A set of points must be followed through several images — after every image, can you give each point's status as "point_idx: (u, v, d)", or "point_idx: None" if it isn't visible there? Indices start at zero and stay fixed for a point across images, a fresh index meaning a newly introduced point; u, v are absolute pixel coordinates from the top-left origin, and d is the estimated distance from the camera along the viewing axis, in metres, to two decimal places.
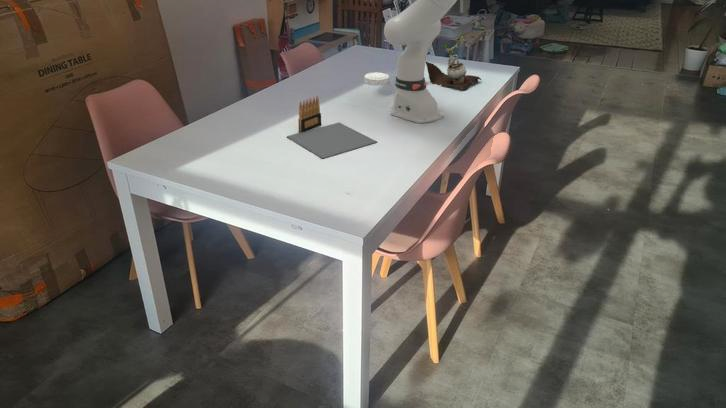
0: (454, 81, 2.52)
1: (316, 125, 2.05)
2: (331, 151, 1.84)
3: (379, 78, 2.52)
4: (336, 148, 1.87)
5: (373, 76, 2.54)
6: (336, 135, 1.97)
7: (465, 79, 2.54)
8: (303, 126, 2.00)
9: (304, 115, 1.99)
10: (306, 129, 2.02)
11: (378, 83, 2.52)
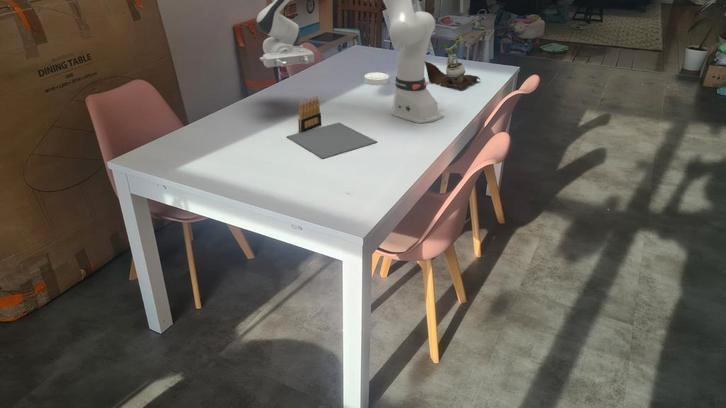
0: (453, 81, 2.52)
1: (316, 125, 2.05)
2: (331, 151, 1.84)
3: (379, 78, 2.52)
4: (336, 148, 1.87)
5: (373, 76, 2.54)
6: (336, 135, 1.97)
7: (464, 79, 2.55)
8: (303, 126, 2.00)
9: (304, 115, 1.99)
10: (306, 129, 2.02)
11: (378, 83, 2.52)
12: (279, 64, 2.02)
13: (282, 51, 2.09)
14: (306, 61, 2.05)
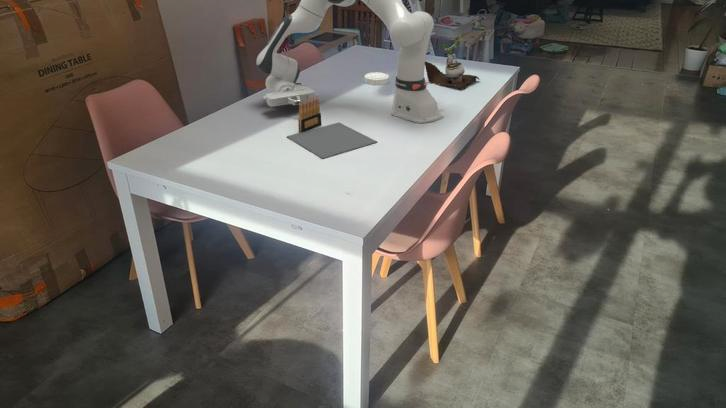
0: (452, 80, 2.53)
1: (316, 125, 2.05)
2: (331, 151, 1.84)
3: (379, 78, 2.52)
4: (336, 148, 1.87)
5: (373, 76, 2.54)
6: (336, 135, 1.97)
7: (463, 78, 2.55)
8: (303, 126, 2.00)
9: (304, 115, 1.99)
10: (306, 129, 2.02)
11: (378, 83, 2.52)
12: (291, 102, 2.12)
13: (284, 90, 2.17)
14: (298, 102, 2.11)
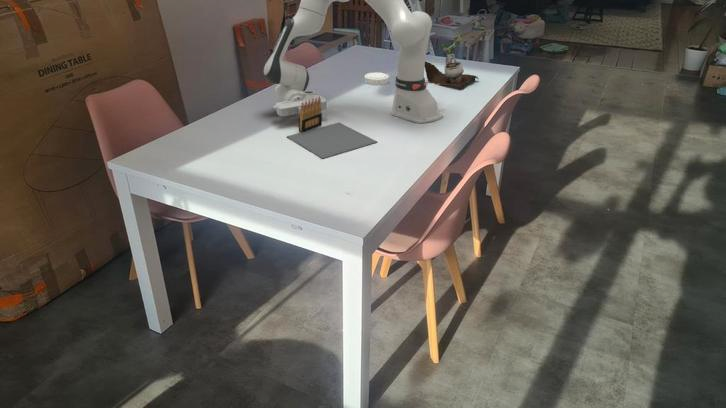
0: (451, 80, 2.53)
1: (316, 125, 2.05)
2: (331, 151, 1.84)
3: (379, 78, 2.52)
4: (336, 148, 1.87)
5: (373, 76, 2.54)
6: (336, 135, 1.97)
7: (462, 78, 2.56)
8: (304, 126, 2.00)
9: (305, 115, 1.98)
10: (306, 129, 2.02)
11: (378, 83, 2.52)
12: None
13: (295, 99, 2.08)
14: None
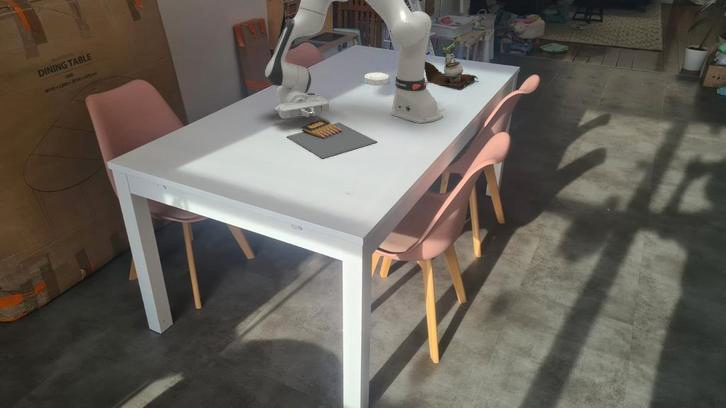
0: (451, 80, 2.53)
1: None
2: (331, 151, 1.84)
3: (379, 78, 2.52)
4: (336, 148, 1.87)
5: (373, 76, 2.54)
6: (336, 135, 1.97)
7: (462, 78, 2.56)
8: None
9: None
10: None
11: (378, 83, 2.52)
12: (304, 114, 2.01)
13: (297, 101, 2.06)
14: (312, 113, 2.00)
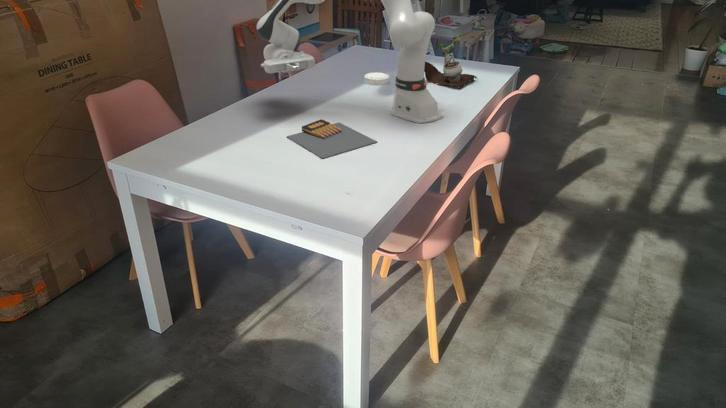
0: (450, 80, 2.54)
1: None
2: (331, 151, 1.84)
3: (379, 78, 2.52)
4: (336, 148, 1.87)
5: (373, 76, 2.54)
6: (336, 135, 1.97)
7: (461, 78, 2.56)
8: None
9: None
10: None
11: (378, 83, 2.52)
12: (289, 68, 2.05)
13: (283, 57, 2.10)
14: (297, 67, 2.04)
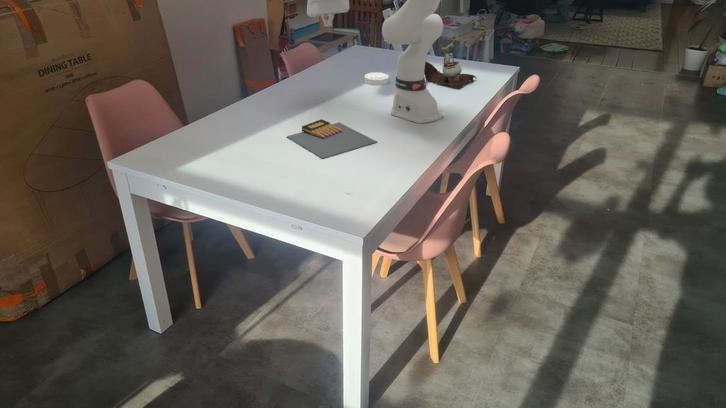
0: (449, 79, 2.54)
1: None
2: (331, 151, 1.84)
3: (379, 78, 2.52)
4: (336, 148, 1.87)
5: (373, 76, 2.54)
6: (336, 135, 1.97)
7: (460, 77, 2.57)
8: None
9: None
10: None
11: (378, 83, 2.52)
12: None
13: None
14: (328, 25, 2.16)
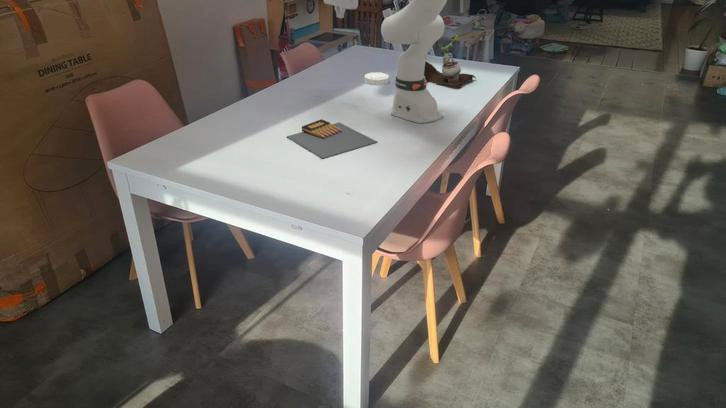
0: (449, 79, 2.54)
1: None
2: (331, 151, 1.84)
3: (379, 78, 2.52)
4: (336, 148, 1.87)
5: (373, 76, 2.54)
6: (336, 135, 1.97)
7: (460, 77, 2.57)
8: None
9: None
10: None
11: (378, 83, 2.52)
12: None
13: None
14: (340, 17, 2.20)
